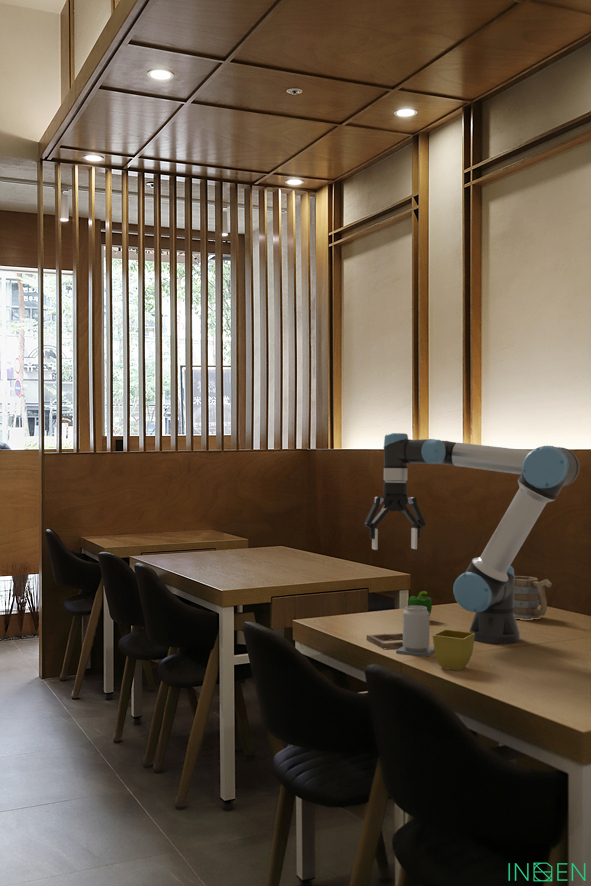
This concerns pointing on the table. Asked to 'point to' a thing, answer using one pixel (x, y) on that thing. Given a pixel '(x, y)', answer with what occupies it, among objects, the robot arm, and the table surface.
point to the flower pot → (453, 648)
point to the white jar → (416, 628)
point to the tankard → (529, 597)
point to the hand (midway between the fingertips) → (394, 549)
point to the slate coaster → (419, 653)
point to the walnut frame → (378, 637)
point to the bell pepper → (421, 601)
